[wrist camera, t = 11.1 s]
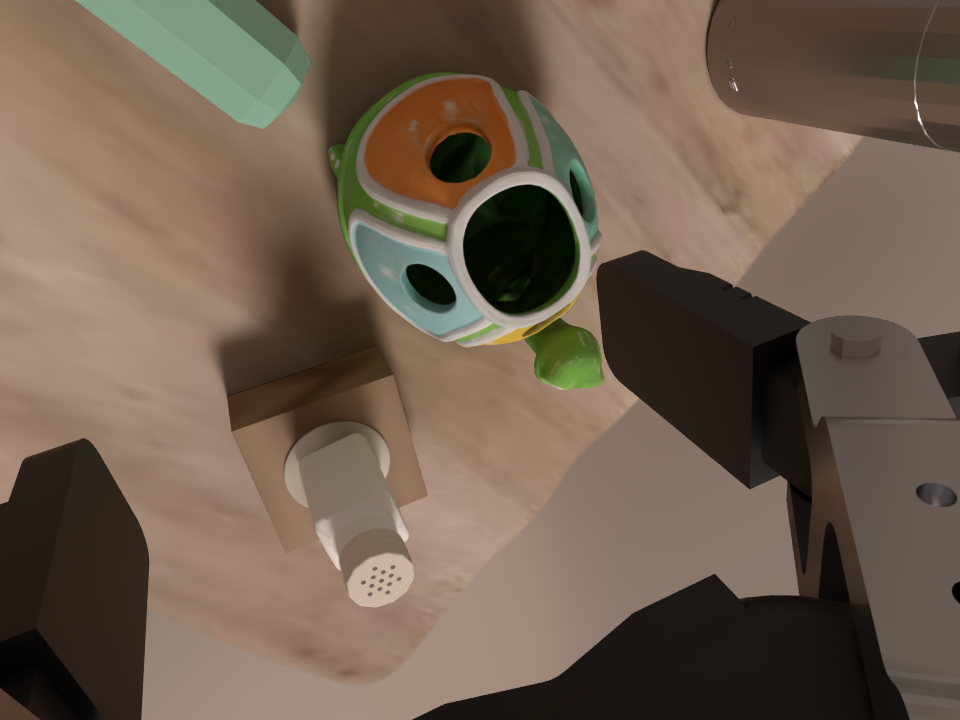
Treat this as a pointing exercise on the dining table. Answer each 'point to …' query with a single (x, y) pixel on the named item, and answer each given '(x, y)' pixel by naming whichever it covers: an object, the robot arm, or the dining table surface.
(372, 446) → the base
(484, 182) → the turtle holder
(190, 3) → the container
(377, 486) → the salt shaker
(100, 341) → the dining table surface
